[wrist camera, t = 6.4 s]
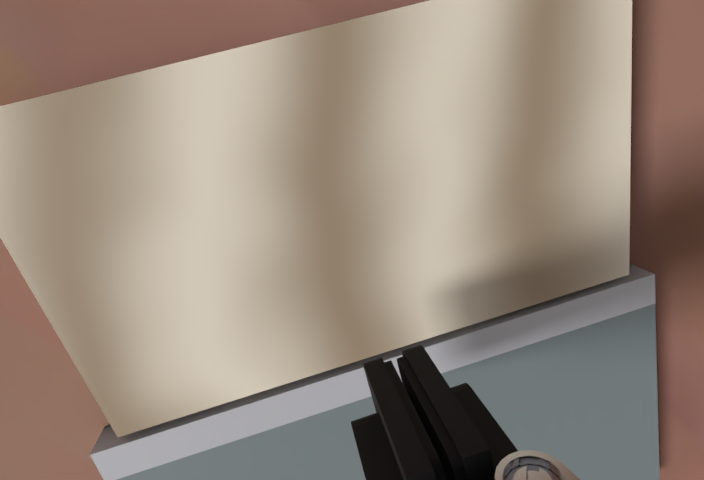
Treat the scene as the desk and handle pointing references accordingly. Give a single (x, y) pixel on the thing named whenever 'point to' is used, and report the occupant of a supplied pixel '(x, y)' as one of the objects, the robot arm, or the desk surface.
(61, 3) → the desk surface
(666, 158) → the desk surface
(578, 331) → the grey rectangular panel
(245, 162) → the plank
